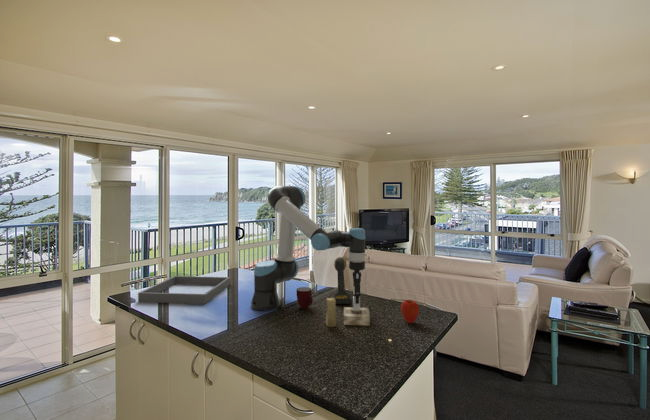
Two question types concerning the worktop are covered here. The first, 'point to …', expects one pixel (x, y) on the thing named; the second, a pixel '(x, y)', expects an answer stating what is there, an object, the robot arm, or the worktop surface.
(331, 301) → the square bit
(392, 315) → the worktop surface
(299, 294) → the mug
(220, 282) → the frame
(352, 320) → the bore block
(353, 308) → the round bit
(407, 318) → the apple
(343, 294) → the cordless drill
